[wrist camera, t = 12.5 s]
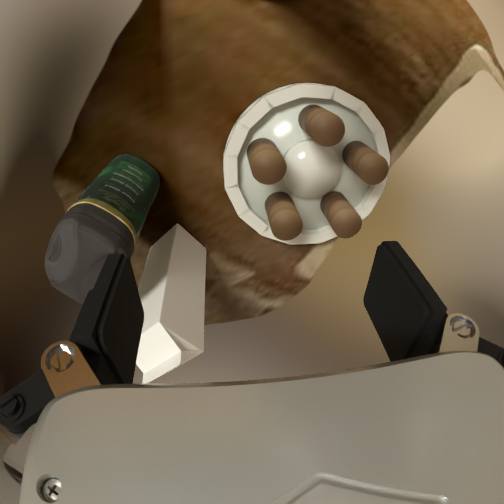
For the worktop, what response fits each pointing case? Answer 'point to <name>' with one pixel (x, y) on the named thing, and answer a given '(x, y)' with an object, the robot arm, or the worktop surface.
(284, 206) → the seated bead
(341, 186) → the groove tray
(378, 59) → the worktop surface
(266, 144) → the brown cylinder
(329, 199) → the brown round peg
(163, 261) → the milk
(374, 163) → the brown round peg
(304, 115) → the tan rounded cylinder
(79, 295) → the coffee jar
